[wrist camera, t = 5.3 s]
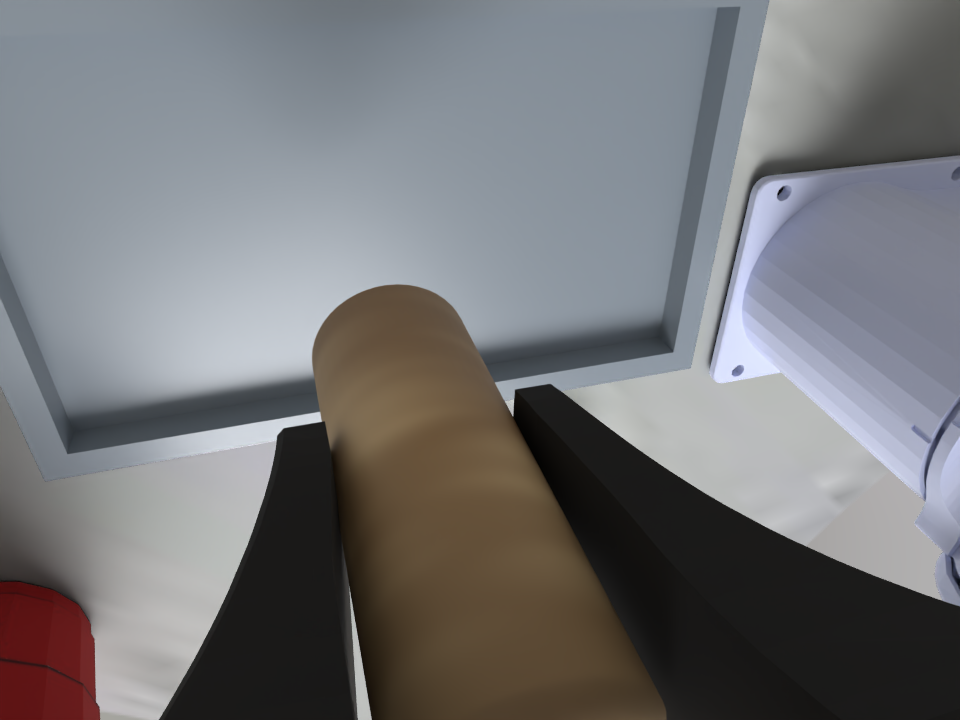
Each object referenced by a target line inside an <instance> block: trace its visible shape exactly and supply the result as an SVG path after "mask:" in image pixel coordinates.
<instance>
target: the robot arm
mask: <svg viewBox="0 0 960 720" xmlns="http://www.w3.org/2000/svg"><path fill="white" fill-rule="evenodd" d="M782 186H784V189H783V191H782V192H781V193H780V194H779V195H778V196H777V193H778V191H779V189H780V188H781V187H782ZM736 366H737V367H736ZM735 367H736V368H735ZM734 368H735V369H734ZM733 369H734V370H733ZM780 372H782V373H783V374H784V375H785V376H786V377H787V378H788V379H789V380H790V381H792V382H793V383H794V384H795V385H796V386H797V387H798V388H799V389H800V390H802V391H803V392H804V393H805V394H806V395H807V396H808V397H809V398H810V399H812V400H813V401H814V402H815V403H816V404H817V405H818V406H819V407H820V408H822V409H823V410H824V411H825V412H826V413H827V414H828V415H829V416H830V417H832V418H833V419H834V420H835V421H836V422H837V423H838V424H839V425H840V426H842V427H843V428H844V429H845V430H846V431H847V432H848V433H849V434H850V435H852V436H853V437H854V438H855V439H856V440H857V441H858V442H859V443H860V444H862V445H863V446H864V447H865V448H866V449H867V450H868V451H869V452H870V453H872V454H873V455H874V456H875V457H876V458H877V459H878V460H879V461H880V462H882V463H883V464H884V465H885V466H886V467H887V468H888V469H889V470H890V471H892V472H893V473H894V474H895V475H896V476H897V477H898V478H899V479H900V480H902V481H903V482H904V483H905V484H906V485H907V486H908V487H909V488H910V489H912V490H913V491H914V492H915V493H916V494H917V495H918V496H920V498H922V499H923V500H924V501H925V504H924V506H923V509H922V511H921V513H920V514H919V516H918V517H917V519H916V520H915V525H916V526H917V527H918V528H919V529H920V530H921V531H922V532H923V533H924V534H925V535H926V536H927V537H928V538H929V539H931V540H932V541H933V542H934V543H935V544H936V545H937V546H938V547H939V548H940V549H941V550H942V551H943V552H942V553H941V555H940V556H939V558H938V560H937V562H936V566H935V579H936V584H937V588H938V591H939V593H940V595H941V598H942V601H941V600H938V599H935V598H932V597H930V596H926V595H924V594H921V593H918V592H916V591H913V590H911V589H908V588H905V587H902V586H900V585H897V584H894V583H892V582H889V581H887V580H884V579H881V578H879V577H876V576H873V575H871V574H868V573H866V572H864V571H861V570H859V569H856V568H854V567H851V566H849V565H846V564H844V563H842V562H839V561H837V560H835V559H833V558H830V557H828V556H826V555H824V554H822V553H819V552H817V551H815V550H813V549H810V548H808V547H806V546H804V545H802V544H799V543H797V542H795V541H793V540H791V539H789V538H787V537H785V536H783V535H781V534H779V533H777V532H775V531H772V530H770V529H768V528H767V527H765V526H763V525H761V524H759V523H757V522H755V521H753V520H752V519H750V518H748V517H746V516H744V515H742V514H741V513H739V512H737V511H735V510H733V509H731V508H729V507H728V506H726V505H724V504H722V503H721V502H719V501H717V500H715V499H714V498H712V497H710V496H709V495H707V494H705V493H704V492H702V491H700V490H699V489H697V488H696V487H694V486H692V485H691V484H689V483H688V482H686V481H685V480H683V479H681V478H680V477H678V476H677V475H675V474H674V473H672V472H670V471H669V470H667V469H666V468H664V467H663V466H661V465H660V464H659V463H657V462H656V461H654V460H653V459H651V458H650V457H648V456H647V455H645V454H644V453H643V452H641V451H640V450H638V449H637V448H635V447H634V446H633V445H631V444H630V443H629V442H627V441H626V440H624V439H623V438H622V437H620V436H619V435H618V434H616V433H615V432H614V431H612V430H611V429H610V428H608V427H607V426H606V425H604V424H603V423H602V422H600V421H599V420H598V419H596V418H595V417H594V416H592V415H591V414H590V413H588V412H587V411H586V410H585V409H583V408H582V407H581V406H579V405H578V404H577V403H575V402H574V401H573V400H572V399H570V398H569V397H568V396H566V395H565V394H564V393H562V392H561V391H560V390H558V389H557V388H556V387H554V386H553V385H552V384H545V385H539V386H533V387H527V388H521V389H515V396H514V416H513V418H514V420H515V422H516V424H517V426H518V428H519V429H520V431H521V433H522V435H523V437H524V439H525V441H526V443H527V445H528V447H529V448H530V450H531V452H532V454H533V456H534V458H535V460H536V462H537V464H538V465H539V467H540V469H541V471H542V473H543V475H544V477H545V479H546V481H547V483H548V484H549V486H550V488H551V490H552V492H553V494H554V496H555V498H556V500H557V501H558V503H559V505H560V507H561V509H562V511H563V513H564V515H565V517H566V519H567V520H568V522H569V524H570V526H571V528H572V530H573V532H574V534H575V536H576V537H577V539H578V541H579V543H580V545H581V547H582V549H583V551H584V553H585V555H586V556H587V558H588V560H589V562H590V564H591V566H592V568H593V570H594V572H595V573H596V575H597V577H598V579H599V581H600V583H601V585H602V587H603V589H604V591H605V592H606V594H607V596H608V598H609V600H610V602H611V604H612V606H613V608H614V609H615V611H616V613H617V615H618V617H619V619H620V621H621V623H622V625H623V627H624V628H625V630H626V632H627V634H628V636H629V638H630V640H631V642H632V644H633V645H634V647H635V649H636V651H637V653H638V655H639V657H640V659H641V661H642V663H643V664H644V666H645V668H646V670H647V672H648V674H649V676H650V678H651V680H652V681H653V683H654V685H655V687H656V689H657V691H658V693H659V695H660V697H661V699H662V700H663V702H664V706H665V709H666V719H667V720H960V155H959V156H949V157H940V158H930V159H921V160H912V161H902V162H893V163H883V164H874V165H864V166H855V167H846V168H836V169H827V170H817V171H808V172H799V173H789V174H780V175H770V176H766V177H762V178H761V179H760V180H758V181H757V182H756V184H755V185H754V186H753V188H752V191H751V194H750V198H749V203H748V207H747V211H746V216H745V220H744V224H743V229H742V233H741V237H740V241H739V246H738V250H737V254H736V259H735V263H734V267H733V272H732V276H731V280H730V284H729V289H728V293H727V297H726V302H725V306H724V310H723V315H722V319H721V323H720V327H719V332H718V336H717V340H716V345H715V349H714V353H713V358H712V362H711V366H710V376H711V377H712V378H713V379H714V380H715V381H716V382H718V383H725V382H731V381H736V380H742V379H747V378H753V377H758V376H764V375H769V374H775V373H780ZM159 720H358V717H357V703H356V687H355V671H354V656H353V640H352V624H351V609H350V593H349V580H348V574H347V568H346V563H345V557H344V551H343V545H342V539H341V533H340V523H339V511H338V499H337V492H336V485H335V478H334V471H333V464H332V457H331V450H330V445H329V440H328V434H327V429H326V424H325V421H323V422H317V423H311V424H305V425H299V426H293V427H287V428H283V429H282V431H281V432H280V433H279V434H278V435H277V443H276V451H275V456H274V462H273V466H272V471H271V475H270V478H269V482H268V486H267V489H266V493H265V496H264V499H263V502H262V505H261V508H260V511H259V514H258V517H257V520H256V523H255V526H254V529H253V532H252V535H251V538H250V540H249V543H248V546H247V548H246V550H245V553H244V555H243V558H242V560H241V562H240V565H239V567H238V570H237V572H236V574H235V577H234V579H233V582H232V584H231V586H230V589H229V591H228V593H227V595H226V597H225V600H224V602H223V604H222V606H221V608H220V610H219V612H218V614H217V616H216V618H215V620H214V622H213V625H212V627H211V628H210V630H209V632H208V634H207V636H206V638H205V640H204V642H203V644H202V646H201V648H200V650H199V652H198V653H197V655H196V657H195V659H194V661H193V663H192V664H191V666H190V668H189V669H188V671H187V673H186V675H185V676H184V678H183V680H182V682H181V683H180V685H179V687H178V689H177V690H176V692H175V694H174V696H173V697H172V699H171V701H170V702H169V704H168V706H167V708H166V709H165V711H164V712H163V714H162V716H161V717H160V719H159Z"/></svg>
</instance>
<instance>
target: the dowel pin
mask: <svg viewBox="0 0 960 720" xmlns="http://www.w3.org/2000/svg"><path fill="white" fill-rule="evenodd" d="M312 367H313V373H314V379H315V385H316V390H317V396H318V402H319V408H320V414H321V420H322V422H323V421H325V424H326V429H327V434H328V440H329V445H330V450H331V457H332V464H333V471H334V478H335V485H336V492H337V499H338V511H339V523H340V533H341V539H342V545H343V551H344V557H345V563H346V568H347V574H348V580H349V586H350V592H351V598H352V604H353V610H354V616H355V622H356V628H357V634H358V640H359V646H360V652H361V657H362V663H363V669H364V675H365V681H366V687H367V693H368V699H369V705H370V711H371V717H372V720H667V719H666V709H665V706H664V702H663V700H662V699H661V697H660V695H659V693H658V691H657V689H656V687H655V685H654V683H653V681H652V680H651V678H650V676H649V674H648V672H647V670H646V668H645V666H644V664H643V663H642V661H641V659H640V657H639V655H638V653H637V651H636V649H635V647H634V645H633V644H632V642H631V640H630V638H629V636H628V634H627V632H626V630H625V628H624V627H623V625H622V623H621V621H620V619H619V617H618V615H617V613H616V611H615V609H614V608H613V606H612V604H611V602H610V600H609V598H608V596H607V594H606V592H605V591H604V589H603V587H602V585H601V583H600V581H599V579H598V577H597V575H596V573H595V572H594V570H593V568H592V566H591V564H590V562H589V560H588V558H587V556H586V555H585V553H584V551H583V549H582V547H581V545H580V543H579V541H578V539H577V537H576V536H575V534H574V532H573V530H572V528H571V526H570V524H569V522H568V520H567V519H566V517H565V515H564V513H563V511H562V509H561V507H560V505H559V503H558V501H557V500H556V498H555V496H554V494H553V492H552V490H551V488H550V486H549V484H548V483H547V481H546V479H545V477H544V475H543V473H542V471H541V469H540V467H539V465H538V464H537V462H536V460H535V458H534V456H533V454H532V452H531V450H530V448H529V447H528V445H527V443H526V441H525V439H524V437H523V435H522V433H521V431H520V429H519V428H518V426H517V424H516V422H515V420H514V418H513V416H512V414H511V412H510V411H509V409H508V407H507V405H506V403H505V401H504V399H503V397H502V395H501V393H500V392H499V390H498V388H497V386H496V384H495V382H494V380H493V378H492V376H491V375H490V373H489V371H488V369H487V367H486V365H485V363H484V361H483V359H482V357H481V356H480V354H479V352H478V350H477V348H476V346H475V344H474V342H473V340H472V339H471V337H470V335H469V333H468V331H467V329H466V327H465V325H464V323H463V321H462V320H461V318H460V316H459V315H458V313H457V311H456V310H455V309H454V308H453V307H452V305H451V304H450V303H448V302H447V301H446V300H445V299H444V298H442V297H441V296H439V295H438V294H436V293H434V292H432V291H429V290H427V289H424V288H421V287H417V286H412V285H401V284H394V285H384V286H378V287H374V288H371V289H368V290H365V291H362V292H360V293H358V294H356V295H354V296H352V297H350V298H349V299H347V300H345V301H344V302H343V303H342V304H340V305H339V306H338V307H337V308H335V309H334V310H333V311H332V312H331V313H330V314H329V316H328V317H327V318H326V320H325V321H324V322H323V324H322V325H321V327H320V329H319V331H318V333H317V335H316V338H315V341H314V345H313V350H312Z"/></svg>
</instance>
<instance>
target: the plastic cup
mask: <svg viewBox="0 0 960 720" xmlns="http://www.w3.org/2000/svg"><path fill="white" fill-rule="evenodd" d="M0 720H100V709H99V706H98V704H97V703H96V689H95V643H94V638H93V636H92V634H91V624H90V622H89V621H88V619H87V617H86V616H85V614H84V613H83V611H82V609H81V608H80V606H79V605H78V604H76V603H74V602H73V601H71V600H69V599H68V598H66V597H65V596H63V595H61V594H60V593H58V592H56V591H55V590H52V589H47V588H43V587H39V586H35V585H31V584H26V583H22V582H0Z"/></svg>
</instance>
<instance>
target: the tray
mask: <svg viewBox="0 0 960 720" xmlns="http://www.w3.org/2000/svg"><path fill="white" fill-rule="evenodd" d="M768 4H769V0H0V386H1V389H2V391H3V393H4V395H5V397H6V399H7V401H8V404H9V406H10V408H11V410H12V412H13V414H14V416H15V419H16V421H17V423H18V425H19V427H20V429H21V431H22V434H23V436H24V438H25V440H26V442H27V444H28V446H29V449H30V451H31V453H32V455H33V457H34V459H35V461H36V464H37V466H38V468H39V470H40V472H41V474H42V476H43V479H44V481H51V480H57V479H62V478H68V477H74V476H79V475H85V474H91V473H96V472H102V471H108V470H114V469H119V468H125V467H131V466H136V465H142V464H148V463H153V462H159V461H165V460H171V459H176V458H182V457H188V456H193V455H199V454H205V453H210V452H216V451H222V450H228V449H233V448H239V447H245V446H250V445H256V444H262V443H267V442H273V441H277V435H278V434H279V433H280V432H281V431H282V429H283V428H287V427H293V426H299V425H305V424H311V423H317V422H322V420H321V414H320V408H319V402H318V396H317V390H316V385H315V379H314V373H313V367H312V350H313V345H314V341H315V338H316V335H317V333H318V331H319V329H320V327H321V325H322V324H323V322H324V321H325V320H326V318H327V317H328V316H329V314H330V313H331V312H332V311H333V310H334V309H335V308H337V307H338V306H339V305H340V304H342V303H343V302H344V301H345V300H347V299H349V298H350V297H352V296H354V295H356V294H358V293H360V292H362V291H365V290H368V289H371V288H374V287H378V286H384V285H394V284H401V285H412V286H417V287H421V288H424V289H427V290H429V291H432V292H434V293H436V294H438V295H439V296H441V297H442V298H444V299H445V300H446V301H447V302H448V303H450V304H451V305H452V307H453V308H454V309H455V310H456V311H457V313H458V315H459V316H460V318H461V320H462V321H463V323H464V325H465V327H466V329H467V331H468V333H469V335H470V337H471V339H472V340H473V342H474V344H475V346H476V348H477V350H478V352H479V354H480V356H481V357H482V359H483V361H484V363H485V365H486V367H487V369H488V371H489V373H490V375H491V376H492V378H493V380H494V382H495V384H496V386H497V388H498V390H499V392H500V393H501V395H502V397H503V399H504V401H507V400H513V399H514V396H515V389H521V388H527V387H533V386H539V385H545V384H552V385H553V386H554V387H556V388H557V389H558V390H560V391H564V390H570V389H575V388H581V387H587V386H592V385H598V384H604V383H610V382H615V381H621V380H627V379H632V378H638V377H644V376H650V375H655V374H661V373H667V372H672V371H678V370H684V369H689V368H691V365H692V360H693V355H694V351H695V346H696V341H697V337H698V332H699V327H700V323H701V318H702V313H703V309H704V304H705V299H706V295H707V290H708V285H709V281H710V276H711V271H712V266H713V262H714V257H715V252H716V248H717V243H718V238H719V234H720V229H721V224H722V220H723V215H724V210H725V206H726V201H727V196H728V192H729V187H730V182H731V178H732V173H733V168H734V164H735V159H736V154H737V150H738V145H739V140H740V135H741V131H742V126H743V121H744V117H745V112H746V107H747V103H748V98H749V93H750V89H751V84H752V79H753V75H754V70H755V65H756V61H757V56H758V51H759V47H760V42H761V37H762V33H763V28H764V23H765V19H766V14H767V9H768Z"/></svg>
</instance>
